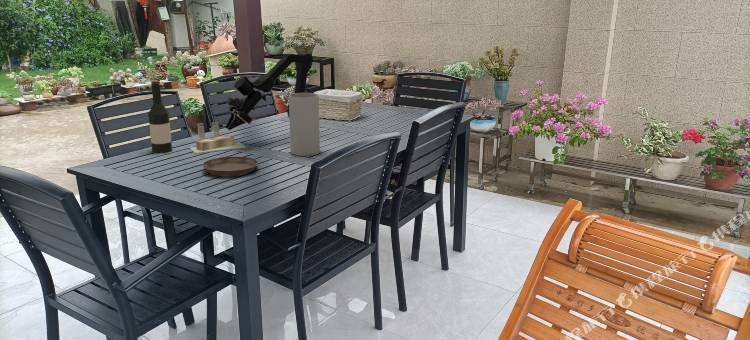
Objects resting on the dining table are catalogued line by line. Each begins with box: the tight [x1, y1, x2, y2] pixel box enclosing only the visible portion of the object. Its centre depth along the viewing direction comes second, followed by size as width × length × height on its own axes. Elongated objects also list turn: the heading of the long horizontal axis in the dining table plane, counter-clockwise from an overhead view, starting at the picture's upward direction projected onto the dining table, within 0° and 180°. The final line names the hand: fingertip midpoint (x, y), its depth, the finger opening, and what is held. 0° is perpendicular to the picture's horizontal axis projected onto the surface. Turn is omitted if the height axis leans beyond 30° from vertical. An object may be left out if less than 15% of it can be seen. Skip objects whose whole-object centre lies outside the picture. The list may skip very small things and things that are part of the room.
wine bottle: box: [147, 80, 173, 154], centre depth 236 cm, size 8×8×30 cm
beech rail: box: [195, 134, 235, 151], centre depth 246 cm, size 16×4×5 cm
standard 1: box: [196, 123, 206, 141], centre depth 255 cm, size 2×8×8 cm, turn 20°
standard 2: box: [211, 121, 221, 138], centre depth 257 cm, size 2×8×8 cm, turn 20°
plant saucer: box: [202, 155, 259, 177], centre depth 215 cm, size 21×21×3 cm
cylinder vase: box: [288, 92, 321, 157], centre depth 237 cm, size 12×12×25 cm
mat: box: [189, 141, 247, 155], centre depth 246 cm, size 22×10×1 cm, turn 120°
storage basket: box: [313, 88, 364, 121], centre depth 310 cm, size 24×16×15 cm
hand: (227, 128), depth 246 cm, fingers open, 3 cm apart
